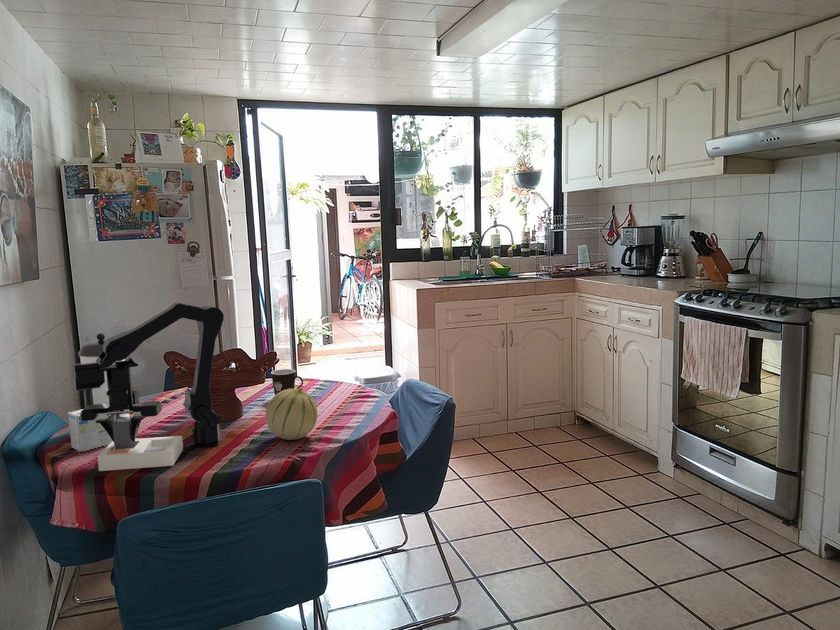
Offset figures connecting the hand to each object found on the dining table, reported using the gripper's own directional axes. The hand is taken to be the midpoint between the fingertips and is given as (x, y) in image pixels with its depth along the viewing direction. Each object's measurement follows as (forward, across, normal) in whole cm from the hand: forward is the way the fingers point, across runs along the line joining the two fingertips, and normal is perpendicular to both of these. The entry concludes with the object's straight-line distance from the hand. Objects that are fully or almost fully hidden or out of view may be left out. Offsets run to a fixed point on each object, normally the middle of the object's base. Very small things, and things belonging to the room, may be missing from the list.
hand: (124, 441), depth 163 cm
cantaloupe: (+5, -44, -8) cm, 45 cm away
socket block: (+5, -4, +1) cm, 7 cm away
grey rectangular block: (+4, 0, 0) cm, 4 cm away
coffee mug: (+5, -40, -51) cm, 65 cm away
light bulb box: (+5, +12, -14) cm, 20 cm away
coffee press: (+5, +14, -29) cm, 32 cm away
